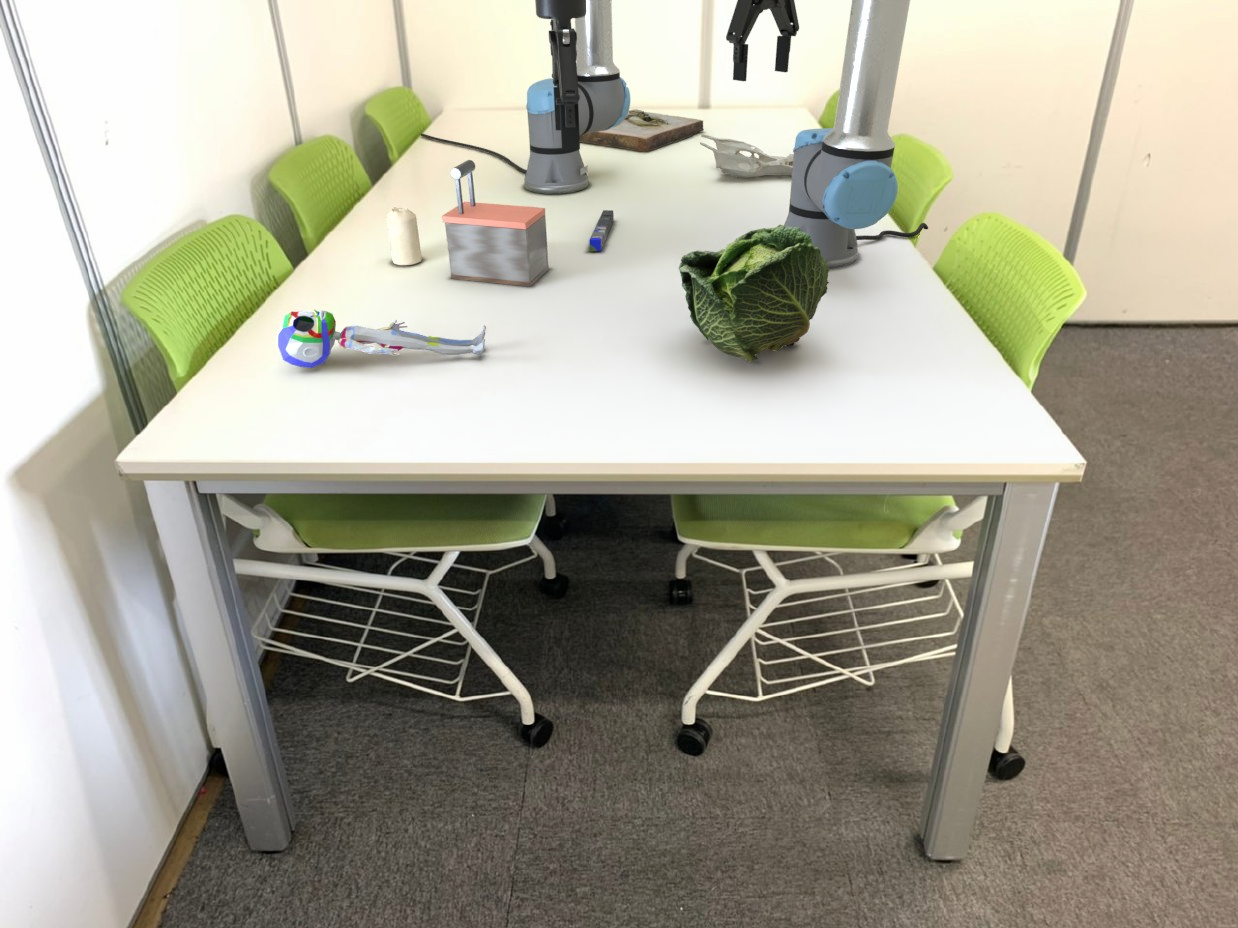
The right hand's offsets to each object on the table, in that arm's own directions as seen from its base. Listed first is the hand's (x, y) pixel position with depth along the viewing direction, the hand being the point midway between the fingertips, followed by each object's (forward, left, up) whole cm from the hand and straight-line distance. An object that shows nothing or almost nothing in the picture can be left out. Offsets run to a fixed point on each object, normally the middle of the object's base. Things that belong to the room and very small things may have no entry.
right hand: (567, 139), depth 141 cm
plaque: (-28, -120, -26) cm, 126 cm away
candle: (+30, -23, -26) cm, 46 cm away
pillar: (-8, -32, -26) cm, 42 cm away
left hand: (-42, -41, +2) cm, 58 cm away
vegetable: (-25, +26, -26) cm, 44 cm away
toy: (+30, +20, -26) cm, 45 cm away
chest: (+12, -13, -26) cm, 32 cm away
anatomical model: (-50, -72, -26) cm, 91 cm away
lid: (+13, -13, -16) cm, 24 cm away
